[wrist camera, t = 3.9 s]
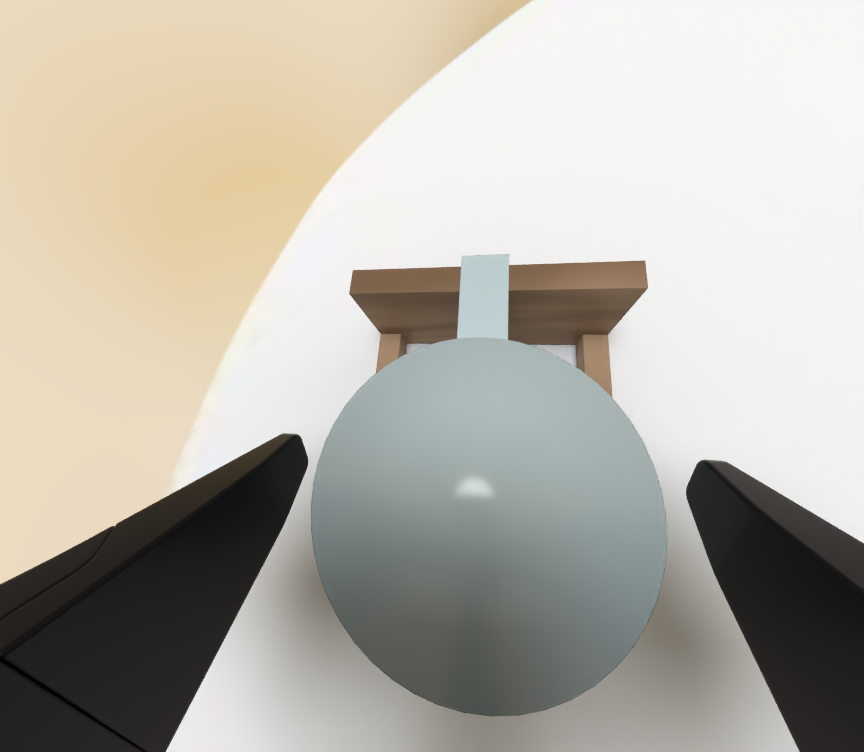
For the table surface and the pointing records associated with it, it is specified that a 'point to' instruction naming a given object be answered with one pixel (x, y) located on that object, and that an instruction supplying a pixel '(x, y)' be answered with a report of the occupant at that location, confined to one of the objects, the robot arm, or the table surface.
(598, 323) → the dock
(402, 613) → the jug
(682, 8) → the table surface
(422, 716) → the table surface
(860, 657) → the robot arm
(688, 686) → the table surface
